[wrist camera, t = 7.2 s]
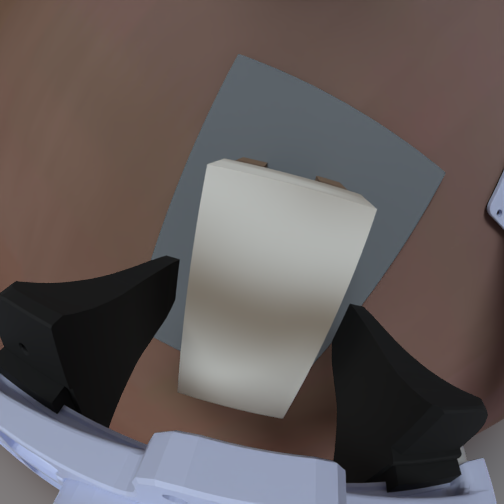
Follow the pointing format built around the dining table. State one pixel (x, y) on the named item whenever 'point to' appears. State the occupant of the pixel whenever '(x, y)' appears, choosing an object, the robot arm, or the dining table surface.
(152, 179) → the dining table surface
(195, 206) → the mat
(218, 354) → the cream block with tabs
